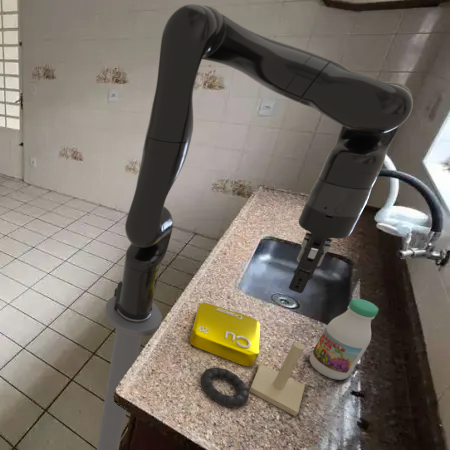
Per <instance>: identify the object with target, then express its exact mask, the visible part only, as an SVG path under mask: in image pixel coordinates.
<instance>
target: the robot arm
mask: <svg viewBox="0 0 450 450" xmlns="http://www.w3.org/2000/svg"><path fill="white" fill-rule="evenodd" d="M202 60H203V61H210V62H213V63H217V64H221V65H224V66H227V67H230V68H231V69H234V70H235V71H236V70H237V71H239V72H240V73H242V74H243V75H245V76H247V77H248V78H250V79H252V80H253V81H255V82H256V83H258V84H259V85H260V86H262V87H264V88H266V89H268V90H269V91H271V92H274V93H276V94H278V95H280V96H281V97H285V98H287V99H289V100H292V101H293V102H296V103H299V104H300V105H303V106H306V107H309V108H312V109H315V110H316V111H318V112H319V113H321V115H324V116H325V117H327V118H328V119H331V120H332V121H334V122H336V123H338V124H339V125H341V129H340V131H339V134H338V136H337V139H336V142H335V144H334V145H333V147H332V148H331V150H330V151H329V153H328V155H327V156H326V159H325V161H324V163H323V166H322V167H321V170H320V173H319V175H318V177H317V179H316V181H315V182H314V184H313V186H312V187H311V189H310V192H309V194H308V197H307V199H306V201H305V204H304V206H303V209H302V211H301V214H300V216H299V217H298V218H299V219H298V225H299V226H300V228H302V229H303V230H305V231H306V232H305V235H304V237H303V239H302V241H301V244H300V246H301V248H300V251H299V253H298V255H297V257H296V262H298V263H297V266H296V268H294V270H293V277H292V278H291V281H290V283H289V285H288V289H289V290H290V291H293V292H296V293H298V294H302V293H304V290H305V289H306V287H307V285H308V283H309V281H311V279H313V277H314V273H315V271H316V269H317V268H319V267H320V266H321V264H322V262H323V260H324V257H325V255H326V254H328V252H329V251H330V248H331V245H332V242H333V239H345V238H348V237H349V236H350V235H351V234H352V232H353V230H354V228H355V226H356V224H357V222H358V221H359V219H360V216H361V214H362V212H363V210H364V208H365V206H366V205H367V203H368V200H369V197H370V194H371V191H372V188H373V186H374V184H375V182H376V180H377V178H378V177H379V175H380V173H381V170H382V168H383V165H384V163H385V160H386V156H387V153H388V150H389V148H390V145H391V144H392V142H393V140H394V139H395V137H396V135H397V134H398V131H399V130H400V127H401V126H402V125H403V124H404V123H405V122H406V121H407V120H408V118H409V117H410V116H411V113H412V111H413V109H414V108H413V107H414V98H413V94H412V92H411V90H410V89H409V87H407V86H406V85H405V84H402V83H401V82H397V81H390V80H387V81H386V80H385V81H381V80H379V79H375V78H373V77H370V76H367V75H365V74H361V73H358V72H356V71H353V70H350V69H349V68H348V67H347V66H346V65H344V64H342V63H340V62H338V61H336V60H332V59H330V58H328V57H326V56H322V55H319V54H317V53H314V52H312V51H309V50H306V49H303V48H299V47H296V46H293V45H291V44H287V43H283V42H280V41H277V40H274V39H272V38H269V37H266V36H263V35H260V34H258V33H257V32H254V31H252V30H250V29H248V28H245V27H244V26H243V25H240V24H239V23H237V22H235V21H234V20H232V19H230V18H229V17H227V16H226V15H224V14H223V13H221V12H220V11H219V10H218V9H216V8H215V7H213V6H211V5H203V4H198V3H197V4H196V3H189V4H185V5H183V6H180V7H179V8H178V9H176V10H175V11H173V12H172V14H171V15H170V17H168V19H167V21H166V22H165V25H164V28H163V30H162V34H161V41H160V49H159V59H158V68H157V79H156V86H155V91H154V94H153V95H154V96H153V101H152V105H151V109H150V114H149V115H150V116H149V119H148V124H147V129H146V133H145V138H144V142H143V147H142V154H141V160H140V164H139V169H138V174H137V180H136V186H135V190H134V193H133V198H132V201H131V204H130V208H129V210H128V213H127V216H126V219H125V223H124V228H125V229H124V232H125V236H126V238H127V240H128V242H129V243H130V244H129V246H128V247H127V249H126V251H125V255H124V260H123V262H124V263H123V269H122V275H121V280H120V281H119V282H118V283H117V287H116V288H115V289H114V292H113V293H114V294H113V297H114V296H115V297H116V300H115V306H114V310H116V311H117V312H118V314H119V315H120V316H121V317H122V318H123V319H125V320H127V321H130V322H134V323H142V322H145V321H147V320H148V319H149V318H150V314H151V310H152V304H153V303H154V299H155V294H156V289H157V284H158V281H159V276H160V271H161V267H162V263H163V260H164V258H165V257H166V255H167V251H168V248H169V245H170V241H171V237H172V234H173V233H172V232H173V227H174V220H173V216H172V214H171V211H170V210H169V209H168V208H167V207H166V206H165V203H166V200H167V197H168V195H169V194H170V192H171V189H172V187H173V185H174V184H175V182H176V180H177V178H178V176H179V175H180V173H181V170H182V169H183V166H184V164H185V161H186V159H187V155H188V154H189V153H188V152H189V150H190V149H189V148H190V144H191V141H192V137H193V132H194V106H193V105H194V103H193V102H194V101H193V98H194V97H193V95H194V88H195V83H196V81H197V76H198V73H199V70H200V67H201V63H202Z"/></svg>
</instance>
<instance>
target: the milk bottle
mask: <svg viewBox="0 0 450 450" xmlns="http://www.w3.org/2000/svg"><path fill="white" fill-rule="evenodd" d="M378 313H379V308H378V306H376V305H375V303H373V302H370V301H368V300H365V299H362V298H352V299H351V301H350V302H349V304H348V306H347V310H346V311H344V312H343V313H341V314H339V315H338V316H336V317H334V318H332V320H330V321H329V323H328V324H327V325H326V327H325V328H324V330H323V331H322V334H321V335H320V336H319V338H318V340H317V342H316V344H315V346H314V348H313V349H312V352H311V353H310V356H309V363H310V364H311V366H312V368H313V369H315V370H316V371H317V372H318V373H319V374H321V375H323V376H325V377H327V378H330V379H332V380H339V381H341V380H342V381H343V380H345V379H347V378H348V377H349V376H350V375H351V373H352V372H353V370H354V369H355V368H356V366H357V365H358V363H359V361H360V360H361V358H362V357H363V355H364V353H365V352H366V350H367V348H368V347H369V345H370V343H371V339H372V328H371V324H372V320H374V319H375V317H376V316H377V315H378Z"/></svg>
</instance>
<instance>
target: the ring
mask: <svg viewBox="0 0 450 450" xmlns="http://www.w3.org/2000/svg"><path fill="white" fill-rule="evenodd" d="M216 378H217V379H223V380H225V381H227V382H229V383H230V384H231V385H232V386H233V387H234V388H235V390H236V394H234V395H229V394H224V393H223V392H221V391H220V390H217V388H216V387H215V386H214V385H213V379H216ZM200 383H201V386H202V389H203V391H204V392H205V393H206V394H207V395H208V397H209V398H210V399H211V400H213V401H215V402H216V403H218V404H220V405H222V406H224V407H225V406H226V407H230V408H239V407H241V406H244V405H246V404H247V402H248V400H249V398H250V392H249V389H248V387H247V383H245V382H244V380H242V378H240V377H239V376H238V375H237V374H236V373H234V372H232V371H230V370H229V369H226V368H221V367H215V366H213V367H210V368H207V369H205V370H204V371H203V373H202V374H201V376H200Z"/></svg>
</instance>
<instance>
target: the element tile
mask: <svg viewBox="0 0 450 450" xmlns="http://www.w3.org/2000/svg"><path fill="white" fill-rule="evenodd" d="M260 331H261V324H260V322H259V320H257V319H256V318H253V317H251V316H248V315H246V314H242V313H240V312H236V311H233V310H230V309H228V308H224V307H221V306H217V305H216V304H215V305H214V304H211V303H209V302H200V303H199V304H198V307H197V311H196V314H195V318H194V321H193V325H192V329H191V331H190V332H191V333H190V335H189V343H190V344H191V345H192V346H193V347H195V348H197V349H199V350H202V351H205V352H206V353H207V352H208V353H210V354H212V355H215V356H218V357H220V358H222V359H225V360H227V361H231V362H233V363H236V364H238V365H240V366H244V367H253V365H254V364H255V362H256V360H257V357H258V355H259V353H260V352H259V351H260V349H259V348H260Z"/></svg>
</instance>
